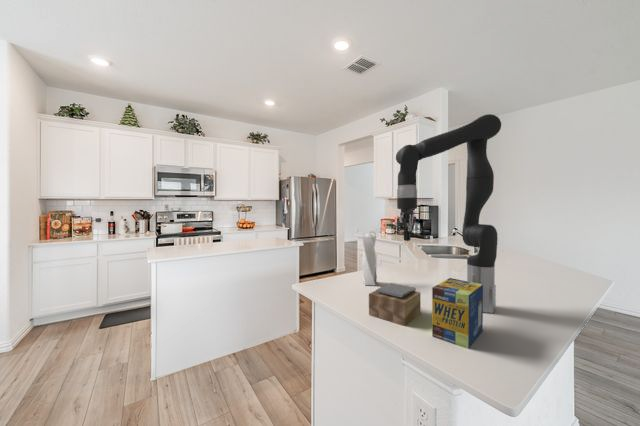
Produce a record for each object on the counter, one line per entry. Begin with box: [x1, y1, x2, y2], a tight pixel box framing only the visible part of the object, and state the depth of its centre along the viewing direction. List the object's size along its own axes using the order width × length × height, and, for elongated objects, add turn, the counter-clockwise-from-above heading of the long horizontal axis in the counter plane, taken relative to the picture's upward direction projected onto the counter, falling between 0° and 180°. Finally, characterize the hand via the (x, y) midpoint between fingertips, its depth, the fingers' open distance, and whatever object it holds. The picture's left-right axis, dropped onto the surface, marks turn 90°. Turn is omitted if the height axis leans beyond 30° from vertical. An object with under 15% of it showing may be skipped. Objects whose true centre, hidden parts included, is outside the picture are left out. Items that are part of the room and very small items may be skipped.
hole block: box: [368, 289, 422, 327], centre depth 98 cm, size 14×14×8 cm
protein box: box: [431, 277, 484, 349], centre depth 82 cm, size 10×15×16 cm
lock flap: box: [376, 282, 417, 298], centre depth 99 cm, size 12×10×1 cm
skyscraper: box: [361, 231, 380, 287], centre depth 136 cm, size 8×8×28 cm
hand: (407, 240), depth 103 cm, fingers closed
